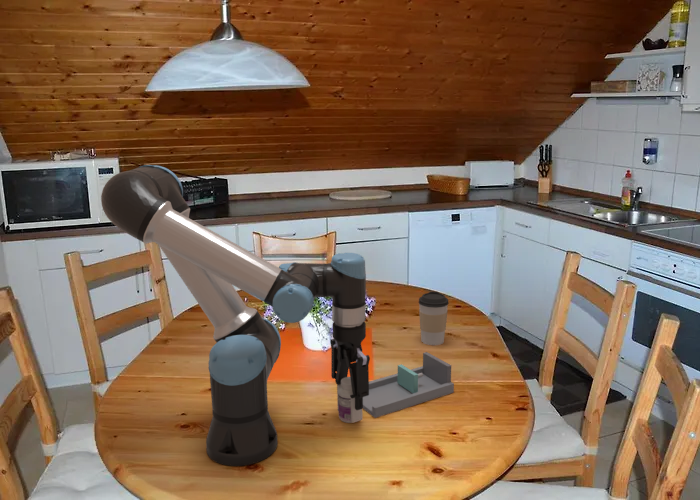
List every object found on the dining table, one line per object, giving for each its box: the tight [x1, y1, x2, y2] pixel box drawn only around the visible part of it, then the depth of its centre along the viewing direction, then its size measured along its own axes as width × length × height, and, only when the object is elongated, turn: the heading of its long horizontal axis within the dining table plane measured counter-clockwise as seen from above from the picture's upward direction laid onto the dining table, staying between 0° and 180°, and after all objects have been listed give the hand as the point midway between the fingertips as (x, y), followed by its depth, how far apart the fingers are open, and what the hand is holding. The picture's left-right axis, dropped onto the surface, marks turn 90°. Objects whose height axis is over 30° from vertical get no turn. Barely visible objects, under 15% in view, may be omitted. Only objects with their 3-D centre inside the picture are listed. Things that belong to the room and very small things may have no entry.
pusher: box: [397, 363, 423, 393], centre depth 156 cm, size 5×7×5 cm
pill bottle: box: [337, 376, 353, 424], centre depth 143 cm, size 5×5×10 cm
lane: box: [362, 351, 455, 419], centre depth 154 cm, size 24×12×7 cm, turn 121°
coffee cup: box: [418, 290, 449, 346], centre depth 187 cm, size 9×9×15 cm
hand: (349, 414), depth 144 cm, fingers closed on pill bottle, 5 cm apart
